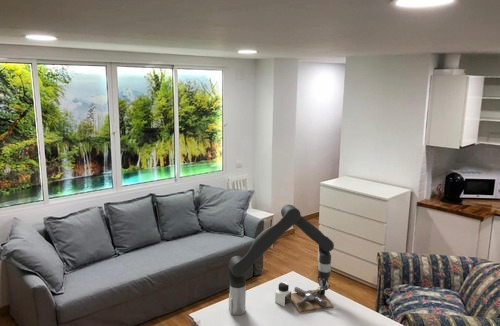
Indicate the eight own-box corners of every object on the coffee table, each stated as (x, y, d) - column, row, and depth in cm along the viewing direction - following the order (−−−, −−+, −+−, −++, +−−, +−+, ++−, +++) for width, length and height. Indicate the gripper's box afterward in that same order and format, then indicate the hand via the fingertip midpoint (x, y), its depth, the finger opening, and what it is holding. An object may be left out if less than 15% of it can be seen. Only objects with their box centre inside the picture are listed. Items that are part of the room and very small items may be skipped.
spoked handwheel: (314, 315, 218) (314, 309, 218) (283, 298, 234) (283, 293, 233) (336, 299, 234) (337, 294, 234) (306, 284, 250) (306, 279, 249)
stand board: (298, 313, 223) (298, 310, 223) (287, 296, 240) (287, 293, 240) (333, 307, 229) (333, 304, 229) (319, 291, 246) (320, 288, 246)
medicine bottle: (284, 306, 229) (285, 288, 227) (274, 302, 233) (275, 284, 231) (291, 301, 235) (291, 283, 232) (281, 297, 239) (281, 279, 236)
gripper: (314, 264, 240) (312, 289, 243) (323, 274, 227) (321, 301, 231) (325, 263, 242) (323, 288, 245) (335, 273, 229) (333, 299, 233)
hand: (322, 294), depth 238 cm, fingers closed
